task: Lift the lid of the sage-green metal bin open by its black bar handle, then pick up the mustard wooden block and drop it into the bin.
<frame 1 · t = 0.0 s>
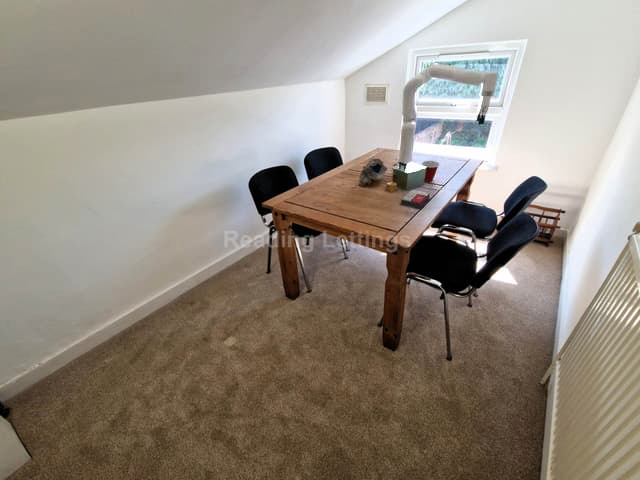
hand: (479, 122, 187), 31 cm above the table, tool pointing down, fingers open, 9 cm apart
bin lid: (409, 164, 176), point 13 cm above the table, hinge at 0.0°
bin: (407, 184, 184), on the table
plastic cup: (427, 181, 188), on the table
block: (390, 190, 178), on the table
calculator: (415, 202, 162), on the table
hollow geode rock: (373, 181, 193), on the table
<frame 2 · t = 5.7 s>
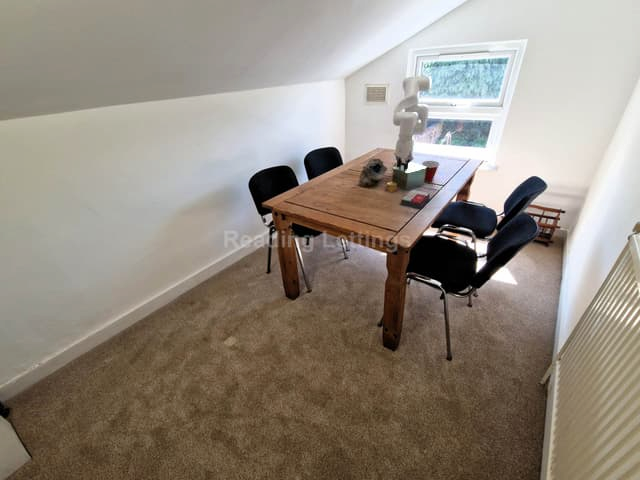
hand: (402, 167, 174), 13 cm above the table, tool pointing down, fingers closed on bin lid, 5 cm apart
bin lid: (409, 164, 176), point 13 cm above the table, hinge at 0.0°, touching gripper
everything else where it was.
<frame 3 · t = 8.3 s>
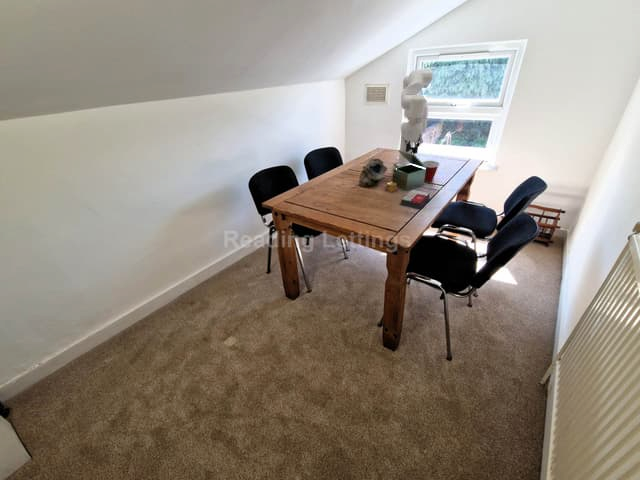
hand: (411, 152, 172), 21 cm above the table, tool pointing down, fingers closed on bin lid, 5 cm apart
bin lid: (414, 156, 175), point 18 cm above the table, hinge at 39.9°, touching gripper
everything else where it was.
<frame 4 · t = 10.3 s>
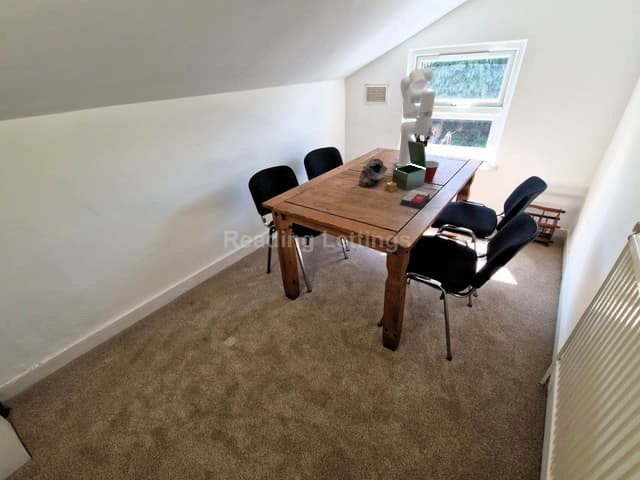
hand: (421, 145, 174), 24 cm above the table, tool pointing down, fingers closed on bin lid, 5 cm apart
bin lid: (419, 152, 176), point 20 cm above the table, hinge at 70.8°, touching gripper
everything else where it was.
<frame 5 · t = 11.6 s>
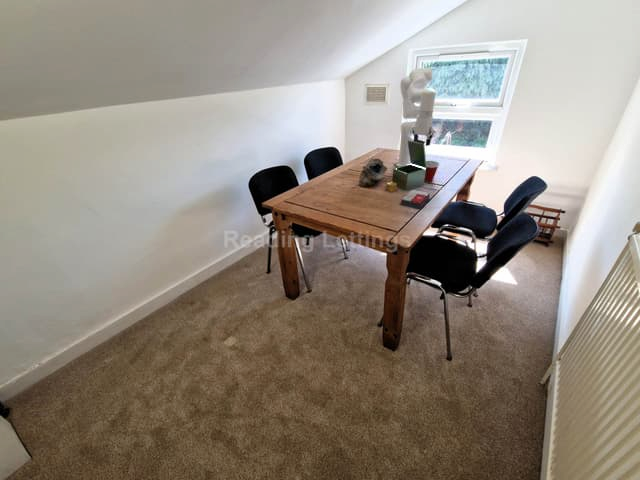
hand: (421, 143, 174), 25 cm above the table, tool pointing down, fingers open, 9 cm apart
bin lid: (419, 152, 176), point 20 cm above the table, hinge at 70.6°
everything else where it was.
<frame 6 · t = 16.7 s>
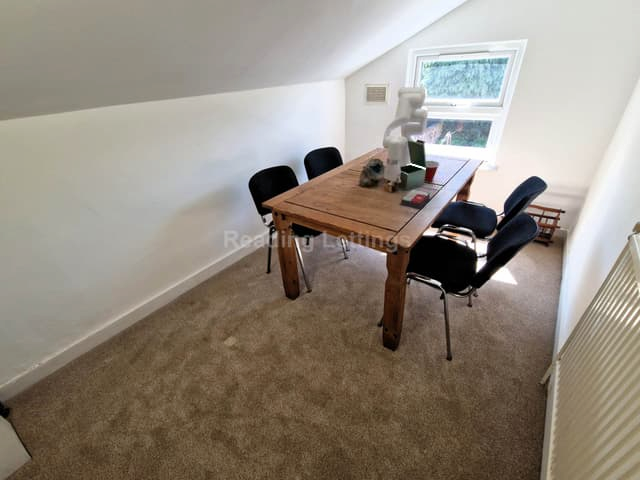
hand: (390, 189, 178), 0 cm above the table, tool pointing down, fingers closed on block, 4 cm apart
block: (390, 190, 178), on the table, touching gripper
everything else where it was.
when the fingers open (11 cm above the table, at t = 21.3 s): block drops 10 cm, resting on bin.
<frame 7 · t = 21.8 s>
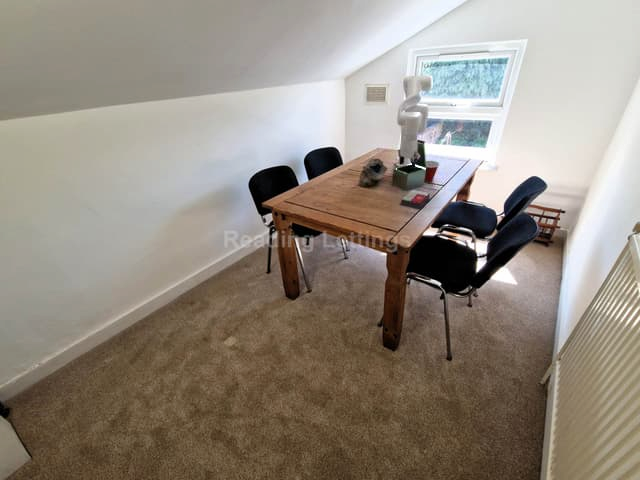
hand: (407, 166, 176), 13 cm above the table, tool pointing down, fingers open, 9 cm apart
block: (404, 184, 182), point 1 cm above the table, touching bin
everything else where it was.
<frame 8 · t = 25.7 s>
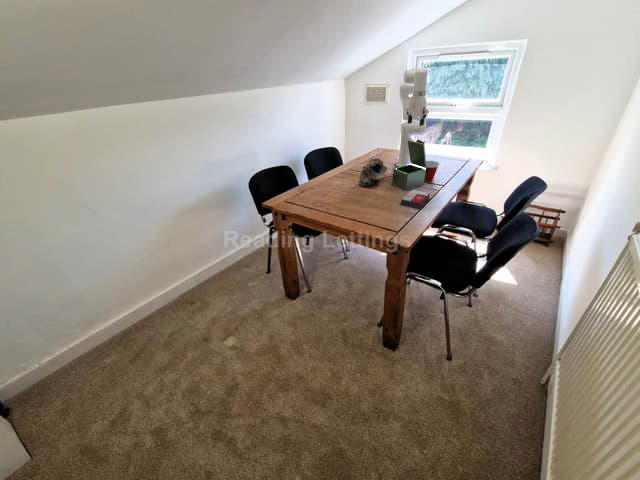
hand: (415, 124, 178), 34 cm above the table, tool pointing down, fingers open, 9 cm apart
nothing on the table moved.
at the end: bin lid at +71° (first picture: +0°); block inside the target area in the bin (2.5 cm from its centre), point 0.8 cm above the bin's base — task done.
